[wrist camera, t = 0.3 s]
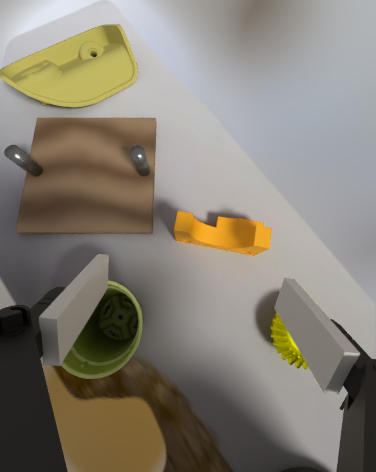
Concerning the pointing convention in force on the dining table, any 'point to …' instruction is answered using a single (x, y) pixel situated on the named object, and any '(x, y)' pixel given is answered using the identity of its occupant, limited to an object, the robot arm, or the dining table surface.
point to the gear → (286, 343)
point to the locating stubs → (36, 170)
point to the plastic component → (76, 69)
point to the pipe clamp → (224, 234)
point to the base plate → (89, 177)
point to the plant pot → (107, 336)
